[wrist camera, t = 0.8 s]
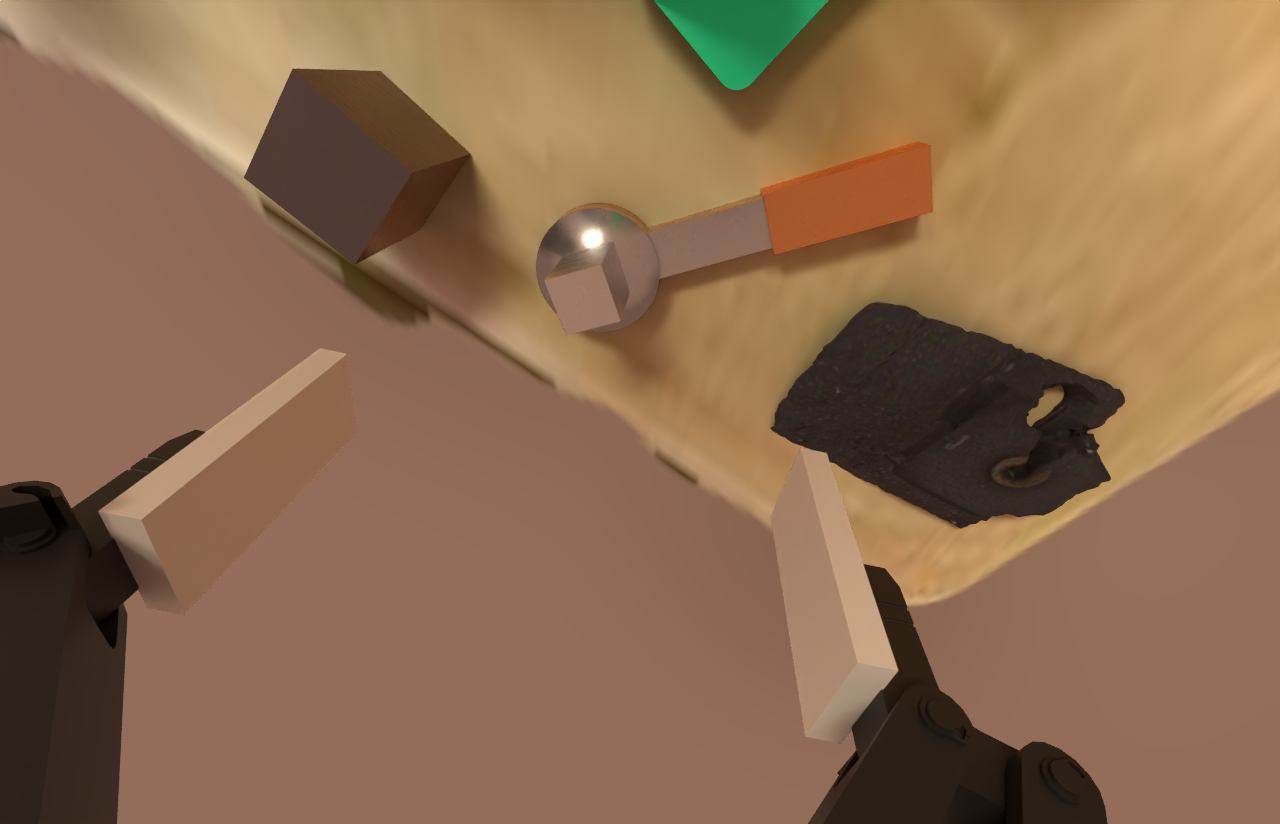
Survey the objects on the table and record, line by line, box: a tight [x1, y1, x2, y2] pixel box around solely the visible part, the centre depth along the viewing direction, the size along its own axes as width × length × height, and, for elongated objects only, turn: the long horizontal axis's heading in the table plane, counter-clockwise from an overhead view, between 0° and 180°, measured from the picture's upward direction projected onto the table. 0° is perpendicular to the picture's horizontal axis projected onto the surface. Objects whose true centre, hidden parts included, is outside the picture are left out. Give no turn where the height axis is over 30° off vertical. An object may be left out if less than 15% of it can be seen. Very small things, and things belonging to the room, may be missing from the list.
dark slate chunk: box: [771, 302, 1125, 528], centre depth 38 cm, size 15×22×5 cm
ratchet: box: [536, 142, 933, 335], centre depth 31 cm, size 24×8×7 cm, turn 107°
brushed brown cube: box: [244, 69, 470, 264], centre depth 30 cm, size 6×6×8 cm
